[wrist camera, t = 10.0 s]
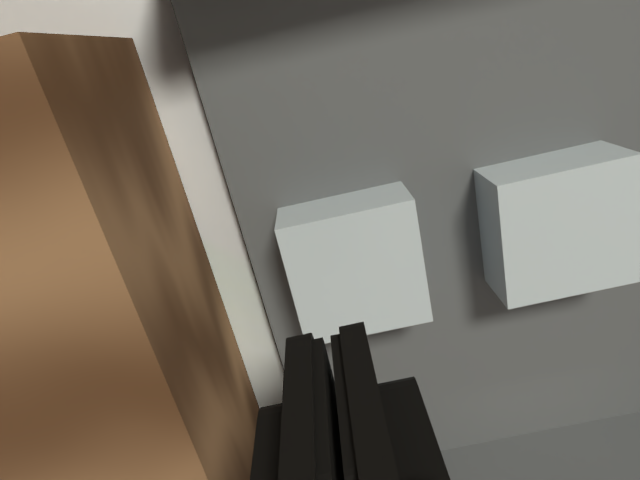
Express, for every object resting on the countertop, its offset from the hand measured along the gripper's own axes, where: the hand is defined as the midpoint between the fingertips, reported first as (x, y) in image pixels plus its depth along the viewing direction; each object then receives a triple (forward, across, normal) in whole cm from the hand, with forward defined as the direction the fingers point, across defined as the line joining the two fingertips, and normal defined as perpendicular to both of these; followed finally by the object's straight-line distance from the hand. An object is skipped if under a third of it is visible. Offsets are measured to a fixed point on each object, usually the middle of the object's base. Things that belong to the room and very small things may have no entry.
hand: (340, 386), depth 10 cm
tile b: (+4, -1, 0) cm, 4 cm away
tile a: (+4, -7, 0) cm, 8 cm away
